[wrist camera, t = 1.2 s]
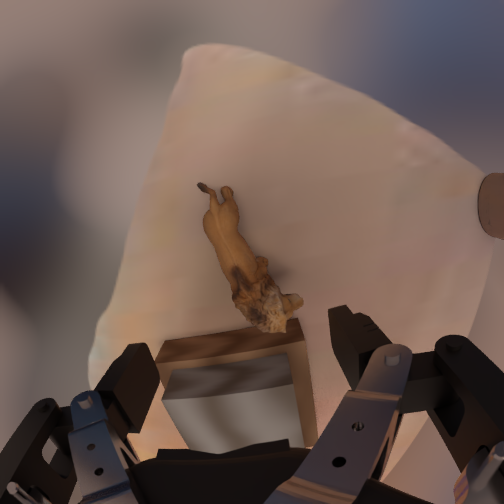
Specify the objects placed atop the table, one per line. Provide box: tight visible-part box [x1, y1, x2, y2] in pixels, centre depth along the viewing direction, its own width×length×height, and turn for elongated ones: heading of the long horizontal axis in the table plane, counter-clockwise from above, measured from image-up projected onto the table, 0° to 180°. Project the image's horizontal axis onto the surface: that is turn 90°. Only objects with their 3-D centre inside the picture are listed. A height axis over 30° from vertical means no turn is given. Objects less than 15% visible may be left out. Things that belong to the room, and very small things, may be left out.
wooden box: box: [154, 318, 318, 454], centre depth 29 cm, size 16×18×10 cm
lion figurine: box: [197, 183, 303, 333], centre depth 25 cm, size 15×5×9 cm, turn 34°
